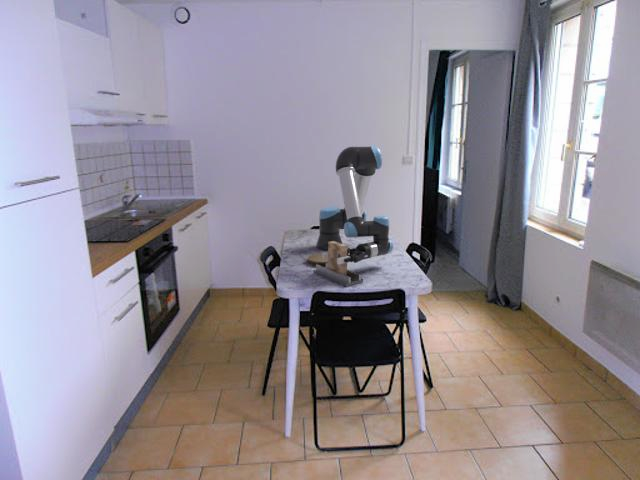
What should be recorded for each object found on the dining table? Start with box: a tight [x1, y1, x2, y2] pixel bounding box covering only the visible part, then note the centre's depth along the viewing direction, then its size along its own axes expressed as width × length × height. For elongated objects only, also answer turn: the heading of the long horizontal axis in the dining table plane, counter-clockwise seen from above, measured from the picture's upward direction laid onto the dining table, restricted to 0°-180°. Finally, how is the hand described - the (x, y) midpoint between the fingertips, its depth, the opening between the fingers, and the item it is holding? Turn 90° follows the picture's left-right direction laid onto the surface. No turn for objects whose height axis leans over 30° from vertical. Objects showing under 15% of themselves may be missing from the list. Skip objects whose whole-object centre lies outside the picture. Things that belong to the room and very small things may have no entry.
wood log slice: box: [306, 252, 328, 268], centre depth 232 cm, size 16×16×3 cm
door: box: [327, 241, 348, 275], centre depth 206 cm, size 10×3×14 cm, turn 37°
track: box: [312, 263, 364, 288], centre depth 208 cm, size 24×10×4 cm, turn 37°
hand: (330, 258), depth 203 cm, fingers closed on door, 10 cm apart
